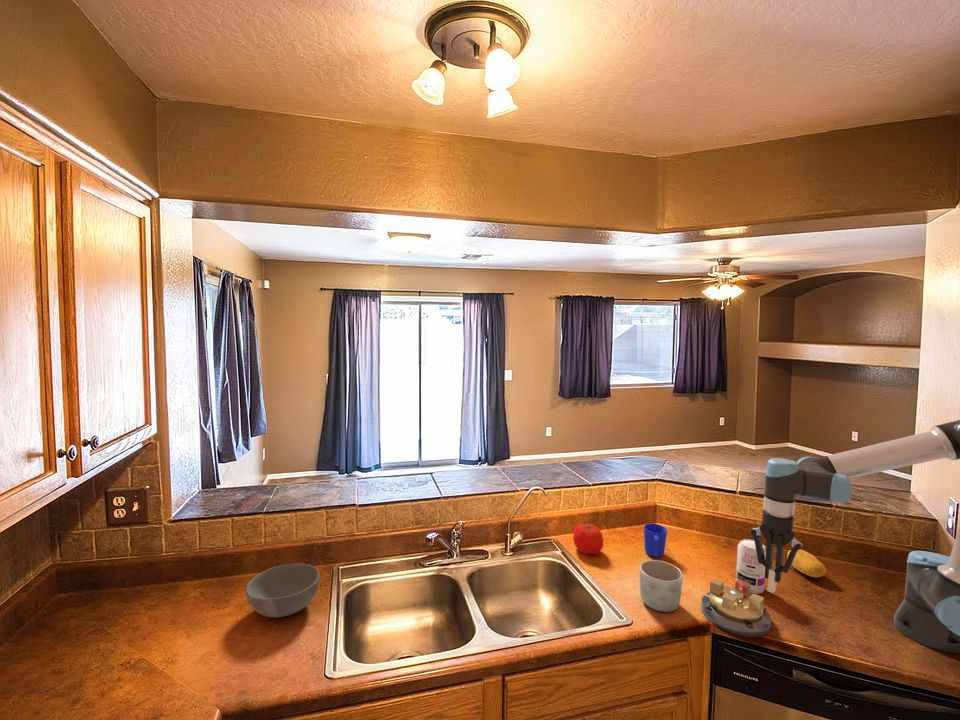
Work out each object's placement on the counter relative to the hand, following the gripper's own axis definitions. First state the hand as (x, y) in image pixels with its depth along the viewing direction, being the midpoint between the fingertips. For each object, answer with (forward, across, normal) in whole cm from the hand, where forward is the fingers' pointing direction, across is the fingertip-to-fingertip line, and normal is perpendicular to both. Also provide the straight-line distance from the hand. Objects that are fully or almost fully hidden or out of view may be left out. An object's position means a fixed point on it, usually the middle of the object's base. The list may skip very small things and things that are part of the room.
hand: (771, 590), depth 133 cm
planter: (+10, +26, +16) cm, 32 cm away
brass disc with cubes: (+7, +8, +5) cm, 12 cm away
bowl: (+12, +100, +104) cm, 145 cm away
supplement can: (+10, +10, -15) cm, 20 cm away
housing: (+10, +8, +5) cm, 13 cm away
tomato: (+11, +60, +5) cm, 61 cm away
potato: (+10, 0, -40) cm, 41 cm away
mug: (+10, +41, -11) cm, 43 cm away
